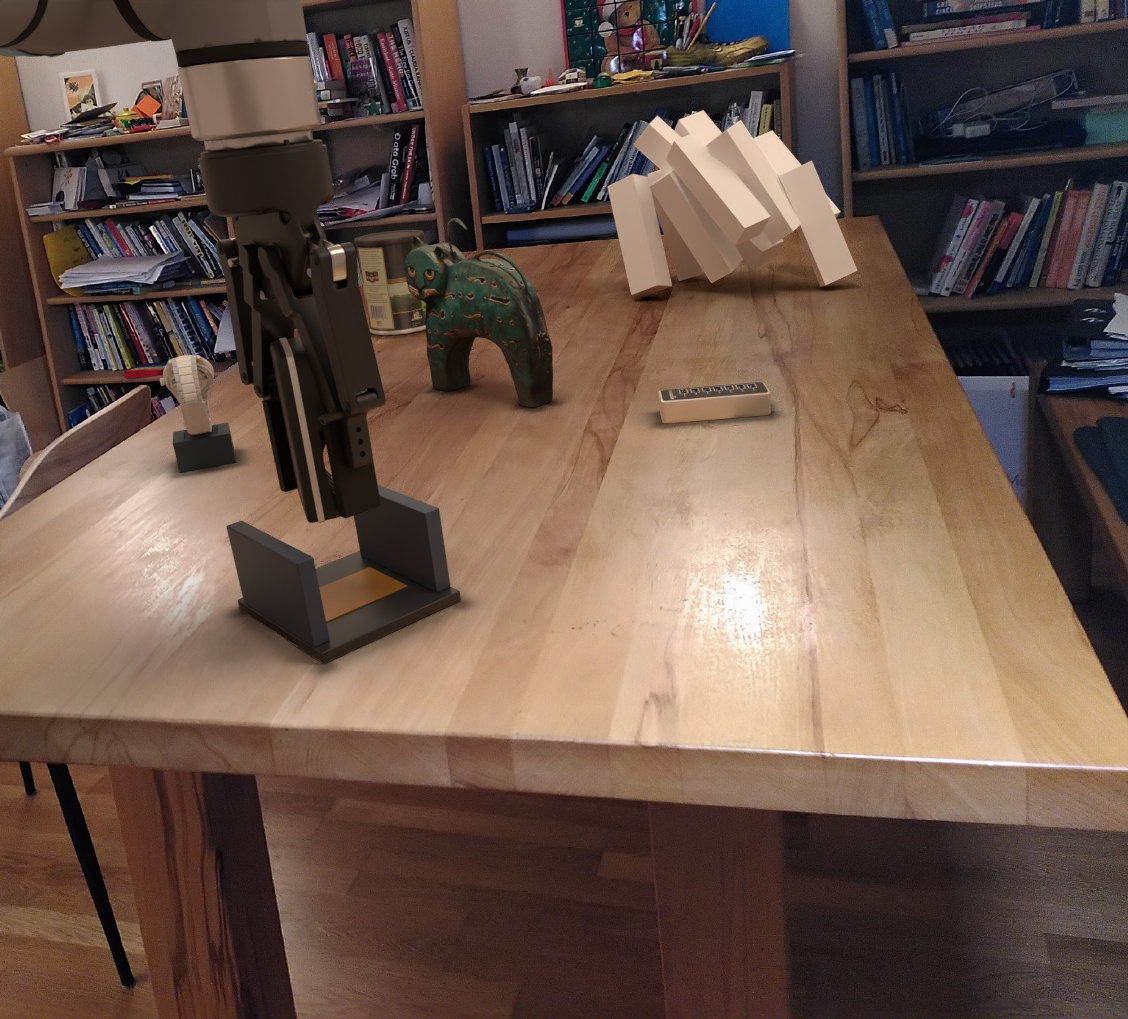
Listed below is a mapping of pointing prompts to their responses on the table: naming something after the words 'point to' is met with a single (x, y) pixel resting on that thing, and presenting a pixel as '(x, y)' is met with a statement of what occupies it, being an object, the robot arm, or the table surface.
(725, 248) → the pile of blocks
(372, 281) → the coffee can
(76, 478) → the table surface
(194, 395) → the watch
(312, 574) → the cradle
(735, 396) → the multiport hub
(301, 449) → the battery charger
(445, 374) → the ceramic cat
